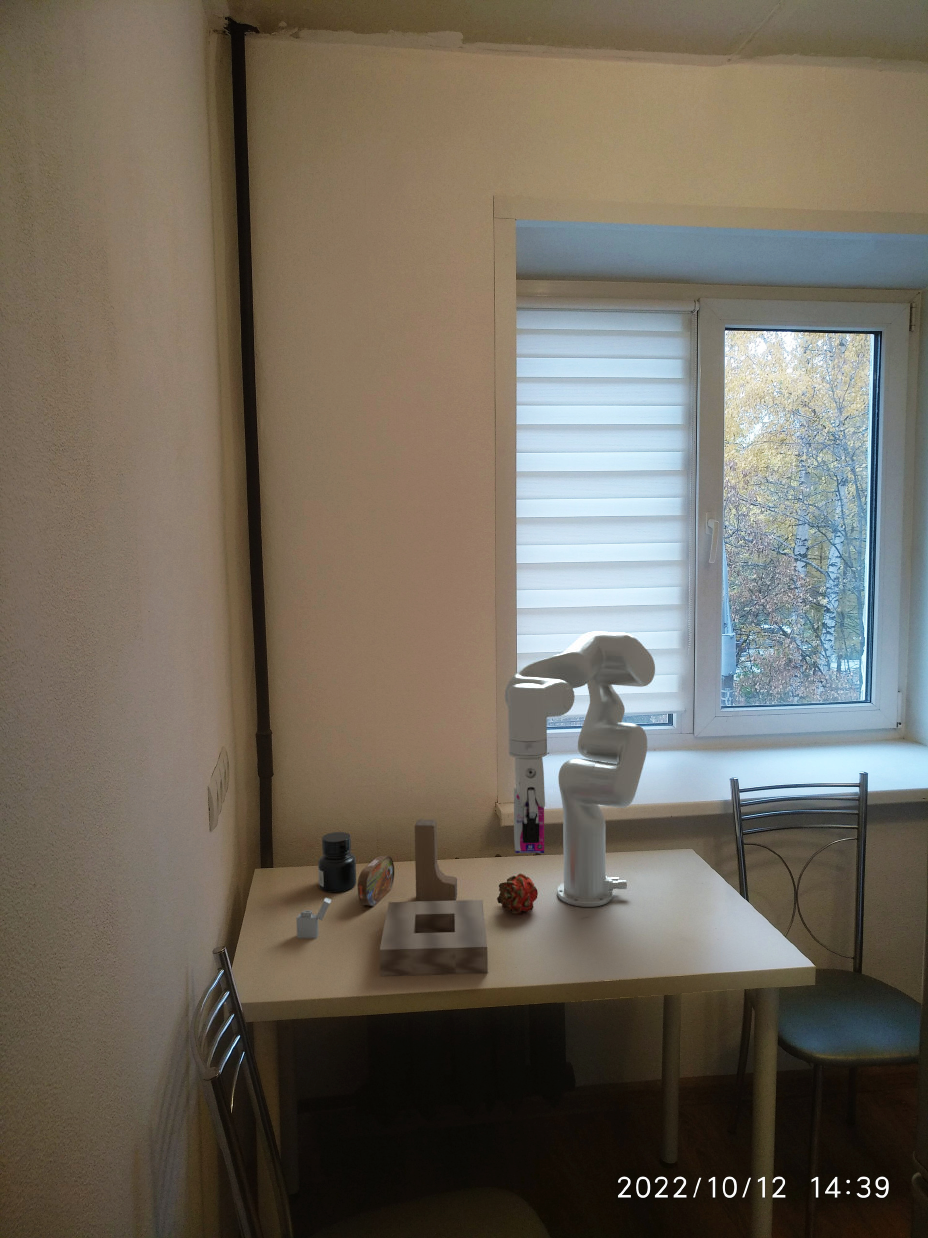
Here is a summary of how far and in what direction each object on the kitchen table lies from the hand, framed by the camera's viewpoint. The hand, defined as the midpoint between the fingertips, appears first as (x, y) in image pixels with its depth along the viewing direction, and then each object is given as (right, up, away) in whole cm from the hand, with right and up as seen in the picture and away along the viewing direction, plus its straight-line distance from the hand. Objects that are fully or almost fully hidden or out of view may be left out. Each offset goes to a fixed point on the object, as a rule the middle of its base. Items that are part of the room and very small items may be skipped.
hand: (529, 835), depth 148 cm
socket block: (-19, -23, +1) cm, 29 cm away
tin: (-33, -22, +25) cm, 47 cm away
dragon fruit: (-1, -22, +17) cm, 28 cm away
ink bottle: (-43, -21, +31) cm, 58 cm away
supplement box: (0, -3, 0) cm, 3 cm away
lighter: (-44, -23, +6) cm, 50 cm away
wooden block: (-19, -21, +23) cm, 37 cm away
